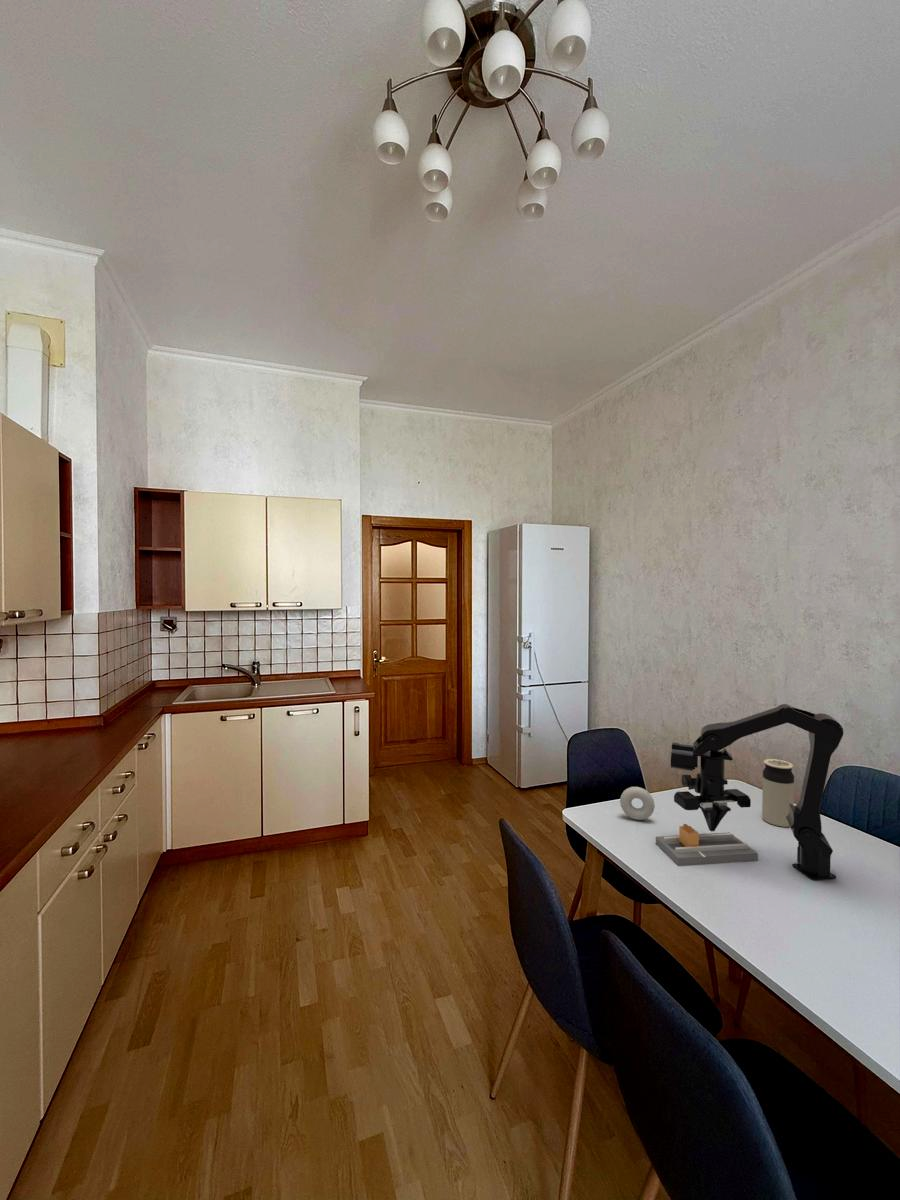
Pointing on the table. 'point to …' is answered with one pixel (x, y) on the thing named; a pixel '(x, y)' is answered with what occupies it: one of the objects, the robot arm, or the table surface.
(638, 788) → the donut
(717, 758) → the robot arm
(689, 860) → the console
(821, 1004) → the table surface
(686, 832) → the fader cap
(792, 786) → the travel mug
